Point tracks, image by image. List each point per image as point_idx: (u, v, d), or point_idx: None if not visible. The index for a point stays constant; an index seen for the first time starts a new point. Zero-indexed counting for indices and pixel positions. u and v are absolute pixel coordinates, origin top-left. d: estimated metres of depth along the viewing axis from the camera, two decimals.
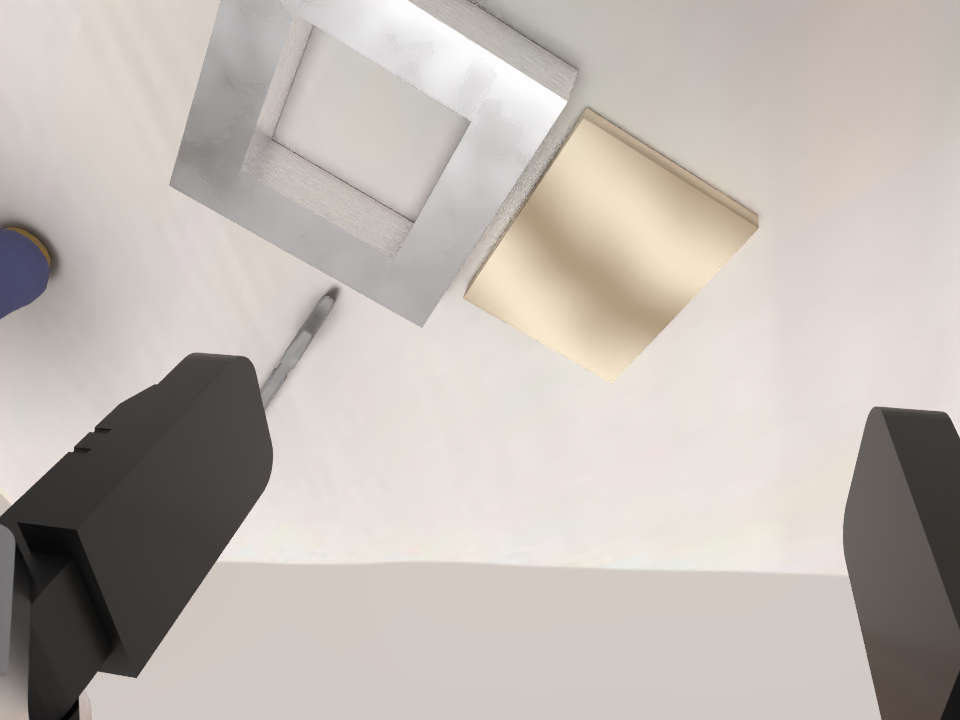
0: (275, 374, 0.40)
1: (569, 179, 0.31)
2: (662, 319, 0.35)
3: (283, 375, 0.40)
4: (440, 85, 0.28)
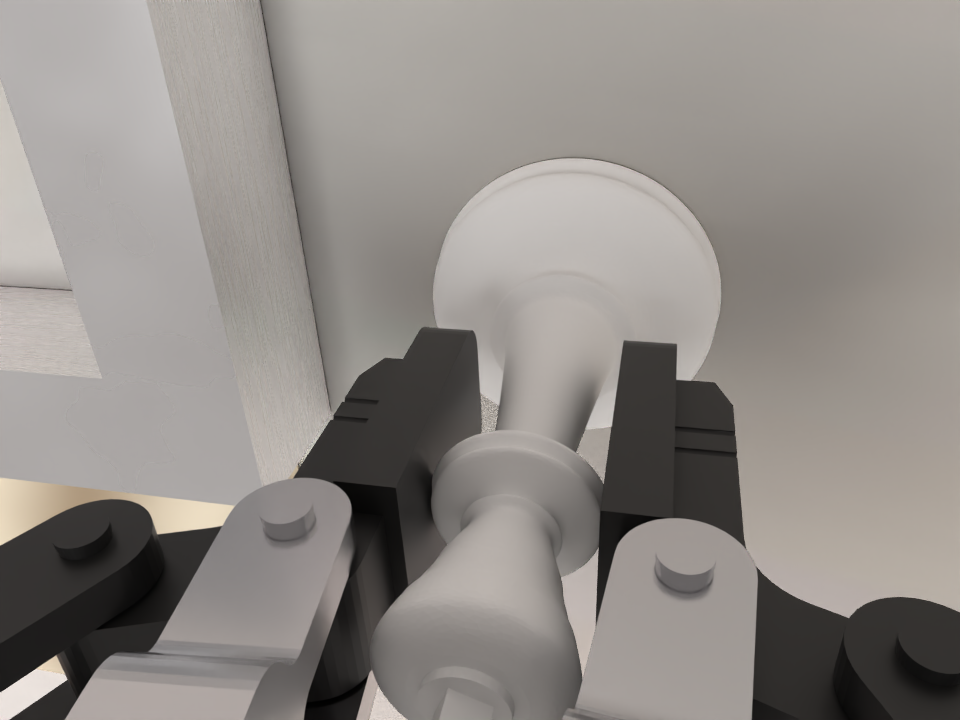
0: None
1: None
2: None
3: None
4: (105, 297, 0.12)
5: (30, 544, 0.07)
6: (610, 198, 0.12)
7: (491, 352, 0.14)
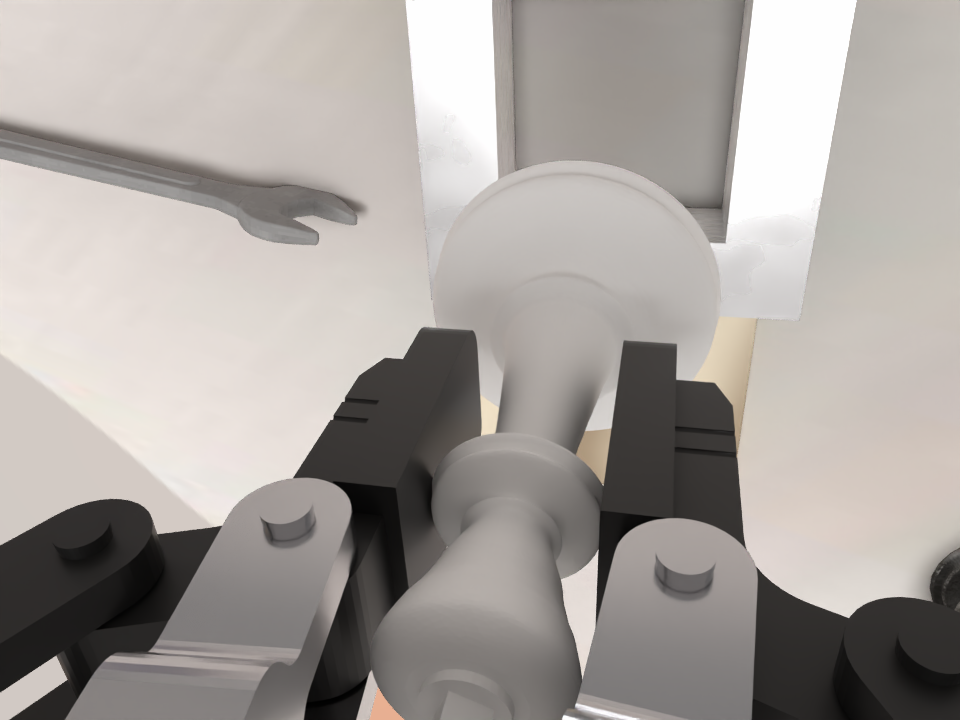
0: (204, 195, 0.29)
1: None
2: None
3: (212, 207, 0.29)
4: (751, 195, 0.24)
5: (30, 544, 0.07)
6: (610, 200, 0.12)
7: (491, 354, 0.14)
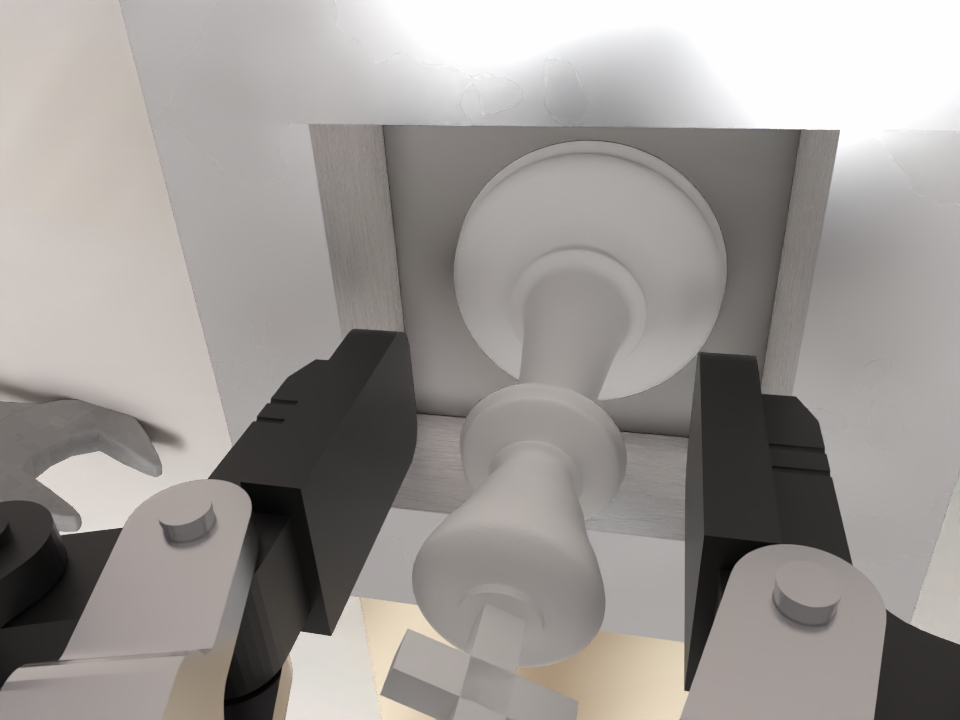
0: None
1: None
2: None
3: None
4: None
5: None
6: (624, 177, 0.13)
7: (509, 325, 0.14)
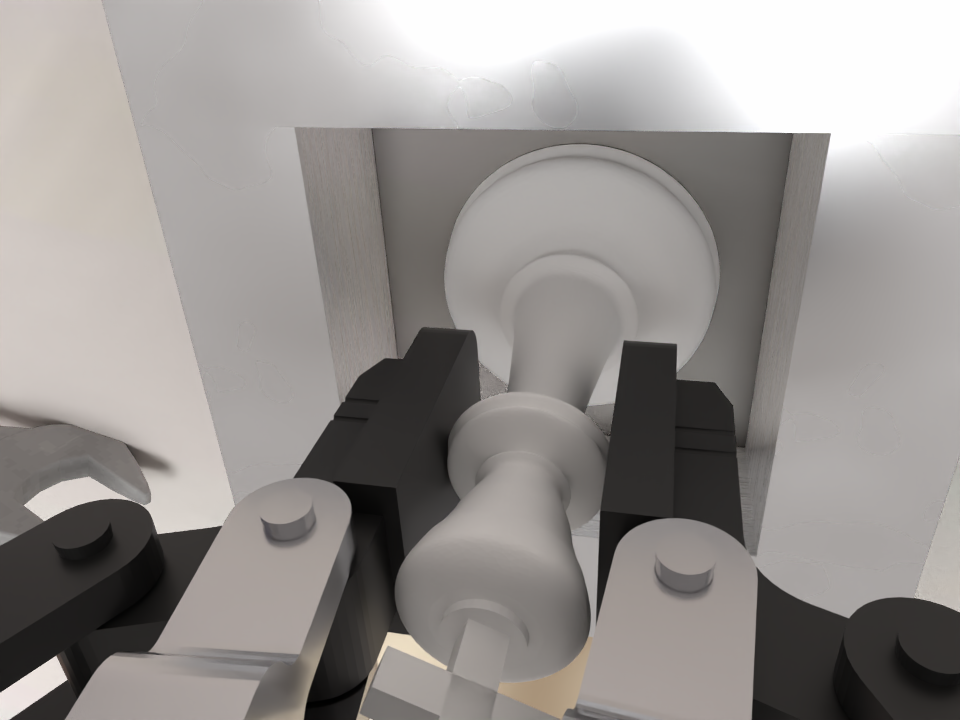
0: None
1: None
2: None
3: None
4: (807, 487, 0.12)
5: (30, 544, 0.07)
6: (615, 181, 0.13)
7: (500, 330, 0.14)
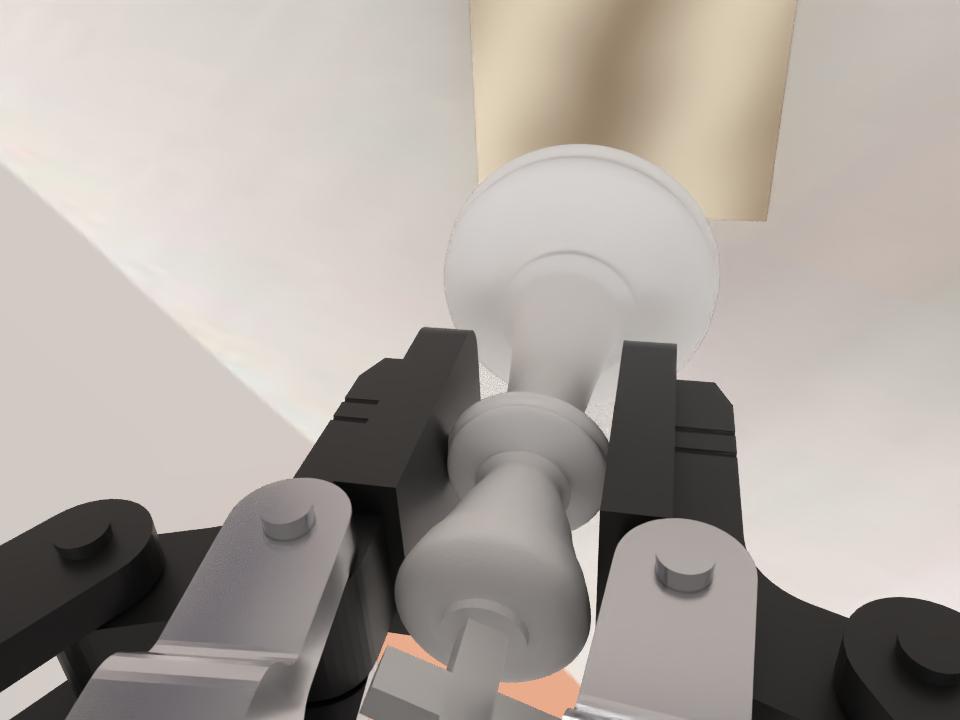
0: None
1: None
2: None
3: None
4: None
5: (30, 544, 0.07)
6: (615, 181, 0.13)
7: (500, 330, 0.14)
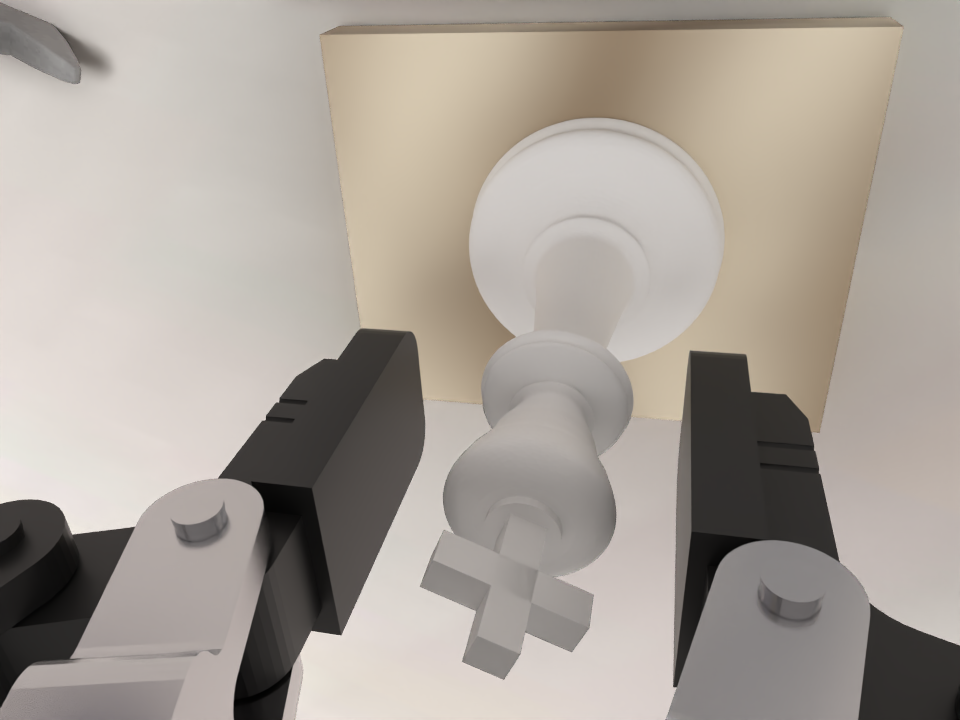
0: None
1: (740, 83, 0.14)
2: None
3: None
4: None
5: None
6: (630, 151, 0.14)
7: (520, 290, 0.15)
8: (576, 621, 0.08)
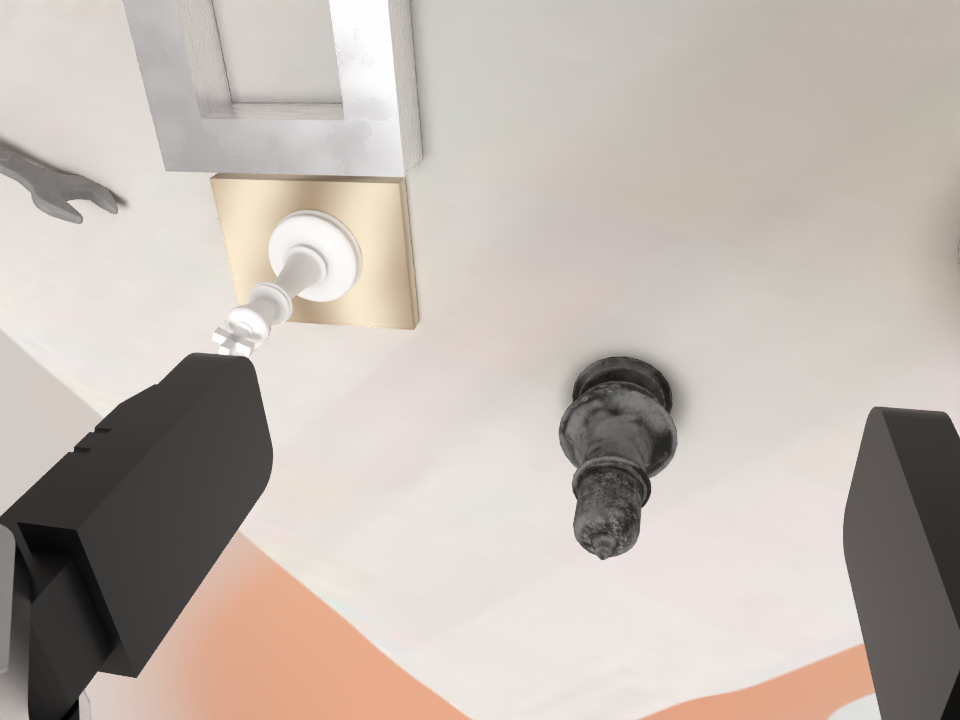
0: (11, 171, 0.42)
1: (353, 199, 0.40)
2: (313, 317, 0.44)
3: (16, 179, 0.42)
4: (352, 84, 0.35)
5: None
6: (316, 223, 0.40)
7: None
8: (248, 347, 0.34)
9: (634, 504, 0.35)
